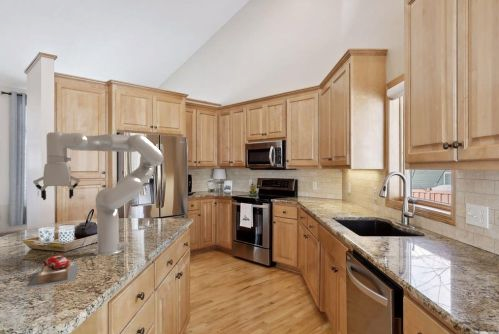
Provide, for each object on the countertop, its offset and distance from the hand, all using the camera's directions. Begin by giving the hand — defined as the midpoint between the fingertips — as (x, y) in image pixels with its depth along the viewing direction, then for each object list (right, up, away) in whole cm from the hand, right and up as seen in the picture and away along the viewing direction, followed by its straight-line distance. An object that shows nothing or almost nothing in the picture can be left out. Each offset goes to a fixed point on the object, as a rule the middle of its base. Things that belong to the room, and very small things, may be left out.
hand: (57, 199), depth 127 cm
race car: (+11, -24, -17) cm, 31 cm away
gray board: (+11, -28, -17) cm, 35 cm away
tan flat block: (+11, -27, -17) cm, 34 cm away
